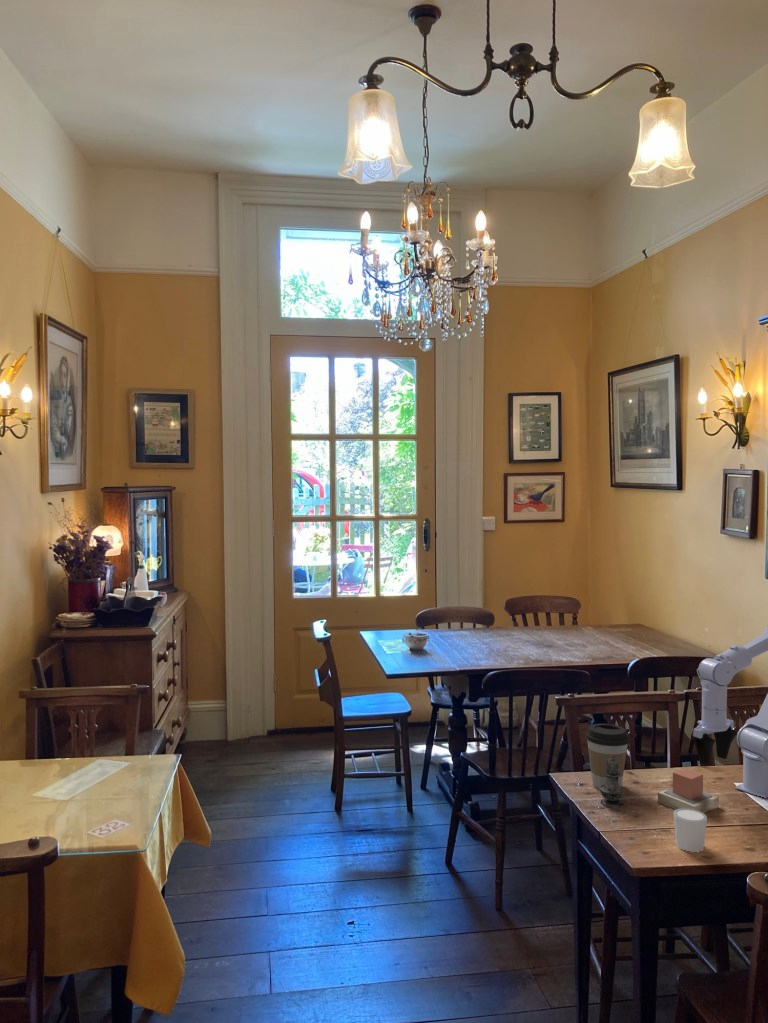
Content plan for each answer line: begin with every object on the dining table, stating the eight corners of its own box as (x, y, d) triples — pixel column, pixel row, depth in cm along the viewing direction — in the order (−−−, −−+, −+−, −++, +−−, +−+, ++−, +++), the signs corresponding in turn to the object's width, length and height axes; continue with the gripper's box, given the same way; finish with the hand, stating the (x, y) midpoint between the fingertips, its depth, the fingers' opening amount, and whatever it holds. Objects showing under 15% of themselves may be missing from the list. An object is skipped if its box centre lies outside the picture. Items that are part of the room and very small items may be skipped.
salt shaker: (625, 809, 180) (626, 760, 180) (600, 807, 182) (600, 758, 181) (622, 799, 186) (623, 752, 186) (598, 797, 187) (598, 750, 187)
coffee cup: (632, 781, 198) (632, 725, 197) (626, 797, 187) (627, 738, 187) (588, 774, 203) (588, 719, 202) (580, 789, 192) (581, 732, 192)
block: (684, 788, 187) (684, 768, 187) (702, 794, 183) (703, 774, 182) (672, 792, 184) (672, 772, 184) (690, 799, 180) (691, 779, 180)
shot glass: (703, 857, 157) (704, 824, 157) (669, 848, 161) (670, 816, 160) (709, 844, 163) (709, 812, 163) (676, 836, 167) (676, 805, 166)
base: (681, 793, 190) (682, 782, 190) (718, 807, 182) (718, 796, 182) (657, 802, 185) (657, 791, 184) (694, 817, 176) (694, 805, 176)
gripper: (715, 699, 194) (715, 750, 195) (682, 708, 186) (681, 761, 186) (741, 705, 188) (740, 758, 189) (708, 715, 180) (707, 770, 181)
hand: (713, 760), depth 187 cm, fingers open, 7 cm apart
